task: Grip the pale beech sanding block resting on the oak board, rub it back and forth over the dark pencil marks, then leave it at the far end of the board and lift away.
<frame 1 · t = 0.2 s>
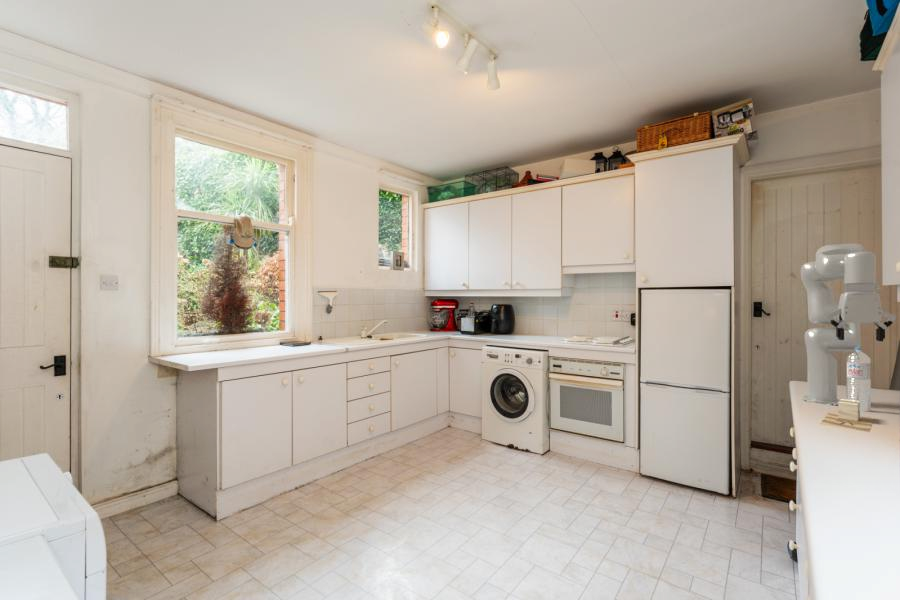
hand: (860, 340, 139), 30 cm above the countertop, tool pointing down, fingers open, 9 cm apart
sanding block: (849, 418, 151), point 1 cm above the countertop, touching oak board
water bottle: (858, 412, 163), on the countertop
oak board: (847, 423, 147), on the countertop
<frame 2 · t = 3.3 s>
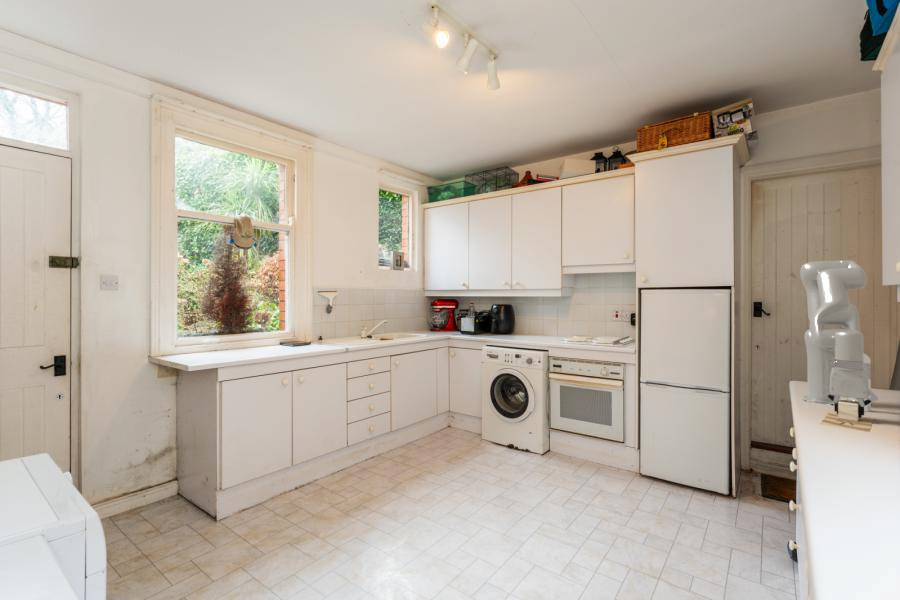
hand: (849, 414, 151), 2 cm above the countertop, tool pointing down, fingers closed on sanding block, 5 cm apart
sanding block: (849, 418, 151), point 1 cm above the countertop, touching gripper, oak board
everything else where it was.
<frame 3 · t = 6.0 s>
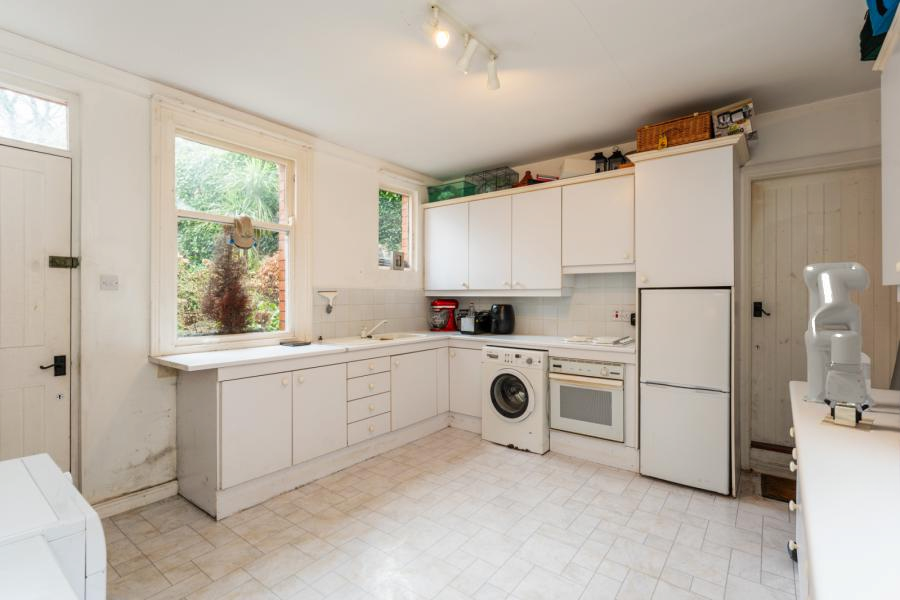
hand: (846, 420, 144), 2 cm above the countertop, tool pointing down, fingers closed on sanding block, 5 cm apart
sanding block: (846, 423, 144), point 1 cm above the countertop, touching gripper
everything else where it was.
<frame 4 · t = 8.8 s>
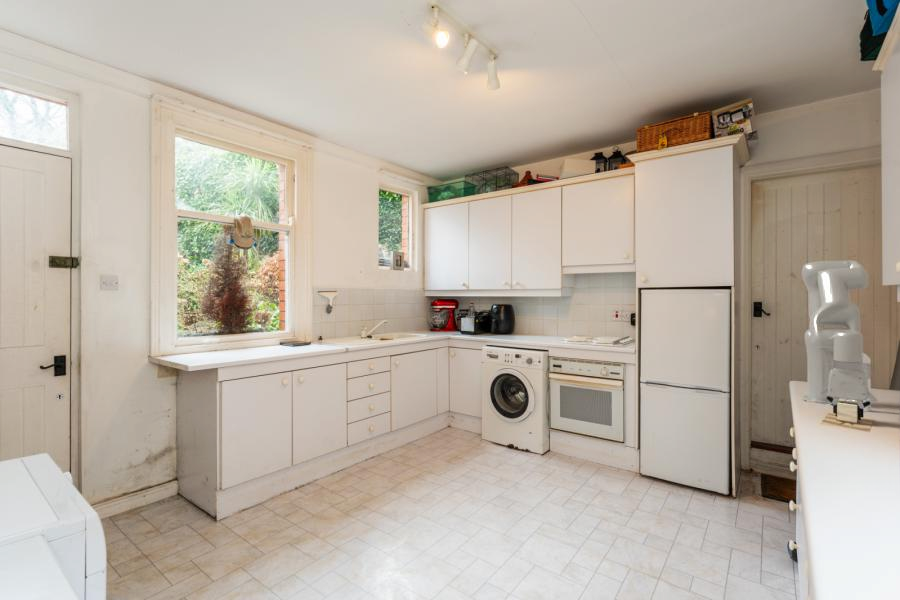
hand: (848, 416, 148), 2 cm above the countertop, tool pointing down, fingers closed on sanding block, 5 cm apart
sanding block: (848, 419, 148), point 1 cm above the countertop, touching gripper
everything else where it was.
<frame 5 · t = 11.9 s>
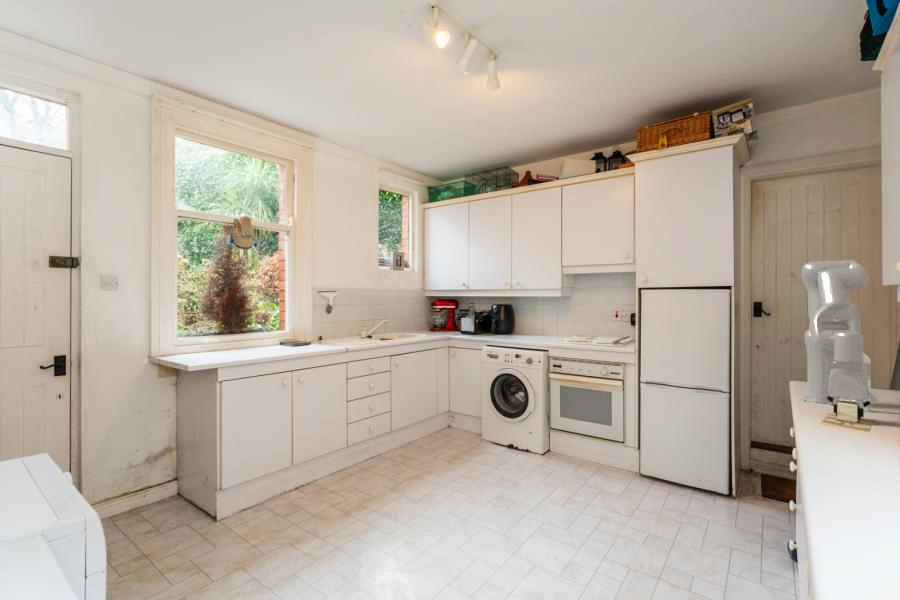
hand: (848, 416, 149), 2 cm above the countertop, tool pointing down, fingers closed on sanding block, 5 cm apart
sanding block: (848, 419, 149), point 1 cm above the countertop, touching gripper
everything else where it was.
when the fingers open (2 cm above the countertop, at t = 14.7 s): sanding block stays where it is, resting on oak board.
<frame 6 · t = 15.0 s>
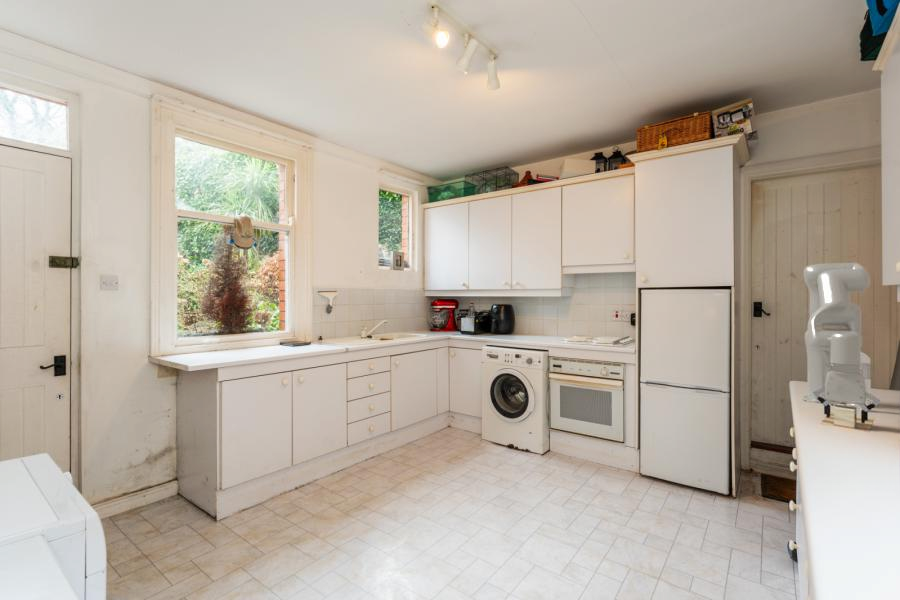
hand: (845, 419, 143), 3 cm above the countertop, tool pointing down, fingers open, 8 cm apart
sanding block: (845, 424, 143), point 1 cm above the countertop, touching oak board
everything else where it was.
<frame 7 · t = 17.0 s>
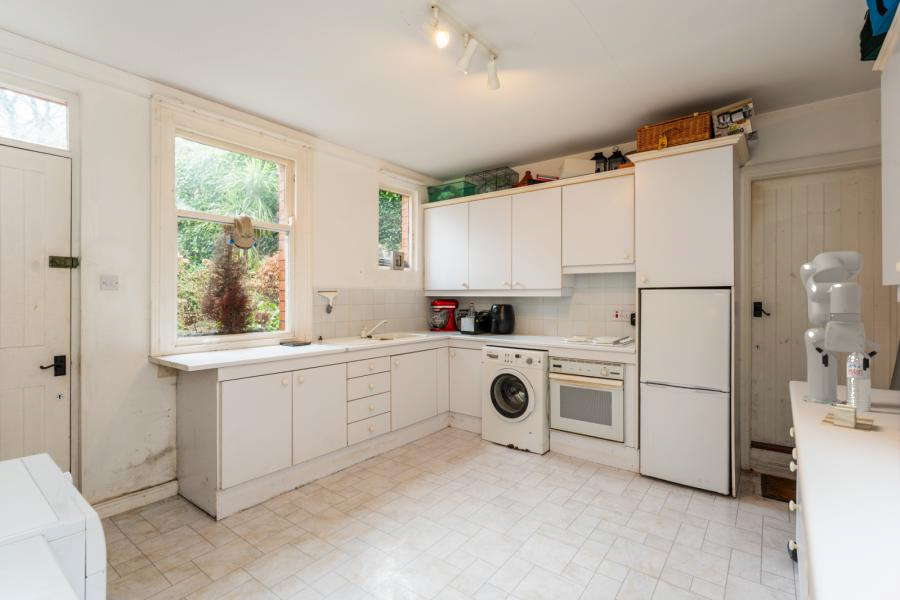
hand: (845, 368, 144), 20 cm above the countertop, tool pointing down, fingers open, 9 cm apart
nothing on the countertop moved.
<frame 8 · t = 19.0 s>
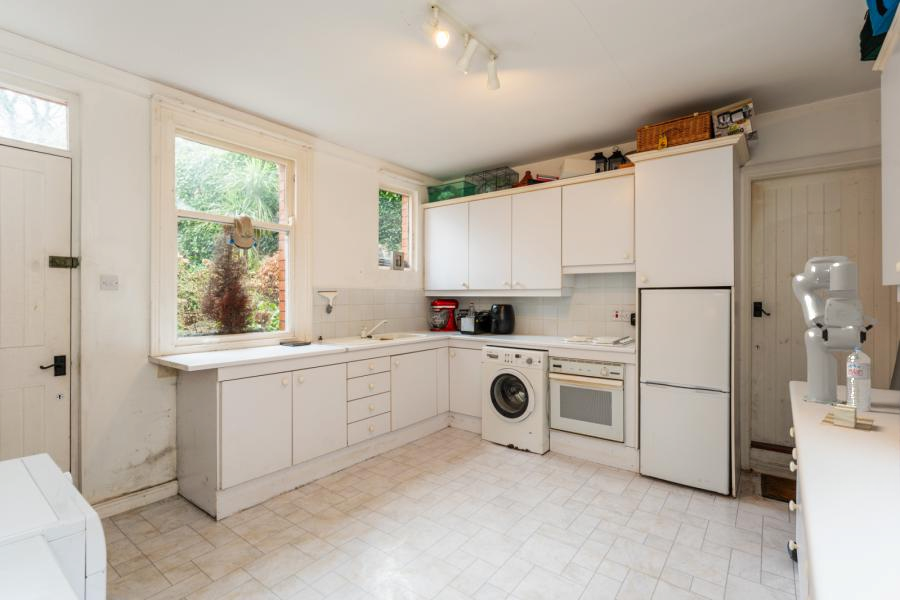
hand: (843, 341, 154), 28 cm above the countertop, tool pointing down, fingers open, 9 cm apart
nothing on the countertop moved.
at the end: sanding block inside the target area on the oak board (0.2 cm from its centre), point 1.0 cm above the oak board's base; sanding block tilted 0°; the gripper is holding nothing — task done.
